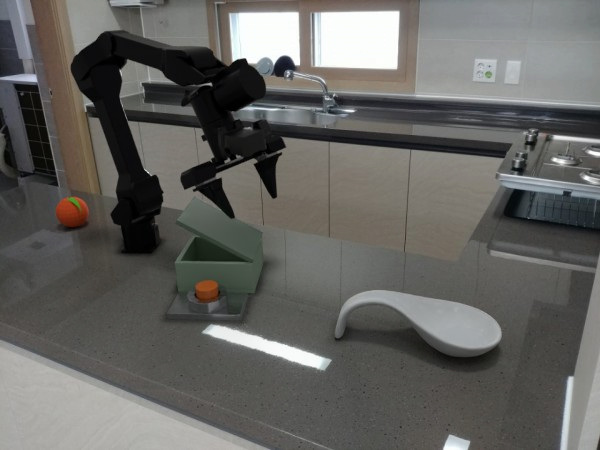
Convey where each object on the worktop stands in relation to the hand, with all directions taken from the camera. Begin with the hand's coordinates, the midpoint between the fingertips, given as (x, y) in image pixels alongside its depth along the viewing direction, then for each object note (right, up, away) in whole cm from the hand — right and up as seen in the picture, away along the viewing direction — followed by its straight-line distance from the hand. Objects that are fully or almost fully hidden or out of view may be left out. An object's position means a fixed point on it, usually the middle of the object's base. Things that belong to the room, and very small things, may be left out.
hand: (254, 208), depth 91 cm
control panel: (-7, -17, -2) cm, 19 cm away
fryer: (-7, -12, +8) cm, 16 cm away
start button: (-8, -14, -3) cm, 16 cm away
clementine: (-44, -3, +32) cm, 54 cm away
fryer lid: (-6, -4, +4) cm, 9 cm away
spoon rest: (+25, -20, -11) cm, 34 cm away
